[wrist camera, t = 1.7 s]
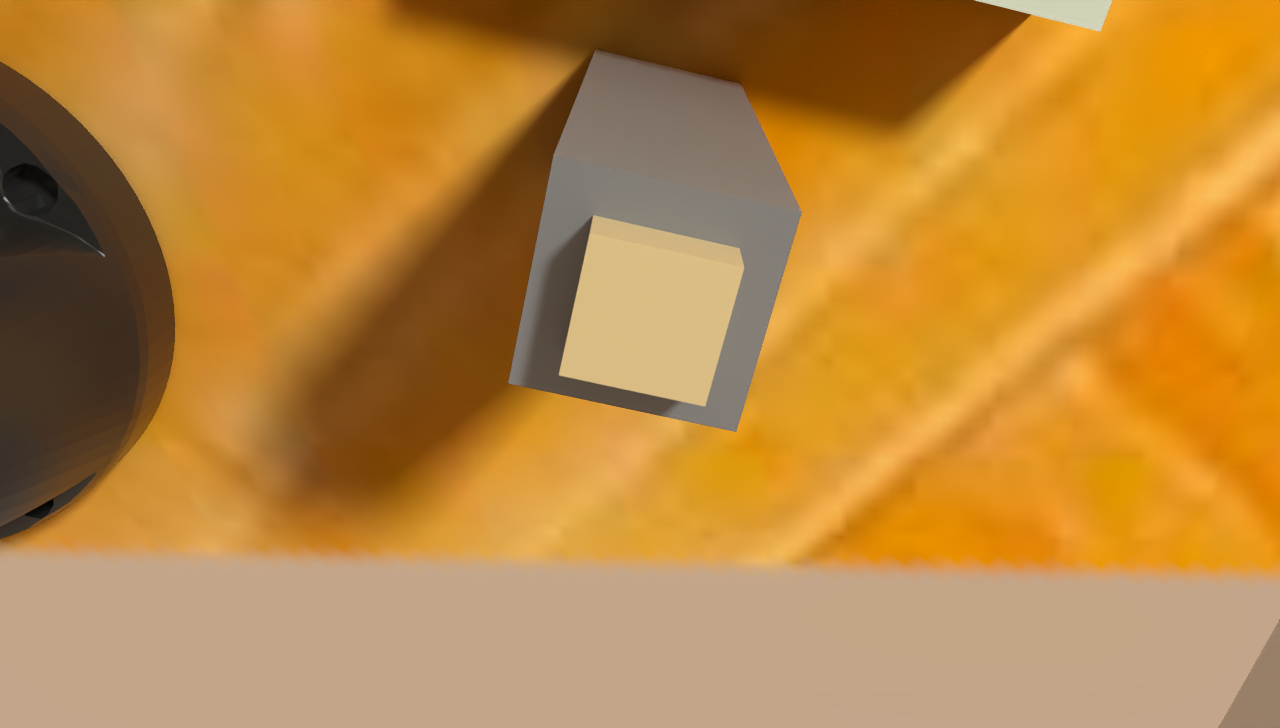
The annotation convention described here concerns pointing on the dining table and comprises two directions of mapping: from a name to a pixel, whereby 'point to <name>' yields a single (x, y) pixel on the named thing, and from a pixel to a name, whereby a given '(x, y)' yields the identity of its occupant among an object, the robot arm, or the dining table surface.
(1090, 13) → the walled box
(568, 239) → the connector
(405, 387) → the dining table surface
